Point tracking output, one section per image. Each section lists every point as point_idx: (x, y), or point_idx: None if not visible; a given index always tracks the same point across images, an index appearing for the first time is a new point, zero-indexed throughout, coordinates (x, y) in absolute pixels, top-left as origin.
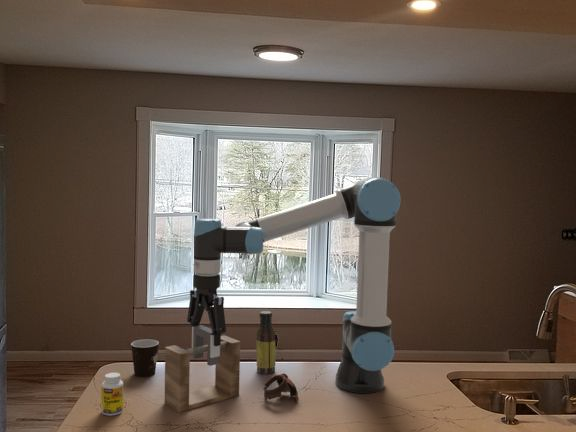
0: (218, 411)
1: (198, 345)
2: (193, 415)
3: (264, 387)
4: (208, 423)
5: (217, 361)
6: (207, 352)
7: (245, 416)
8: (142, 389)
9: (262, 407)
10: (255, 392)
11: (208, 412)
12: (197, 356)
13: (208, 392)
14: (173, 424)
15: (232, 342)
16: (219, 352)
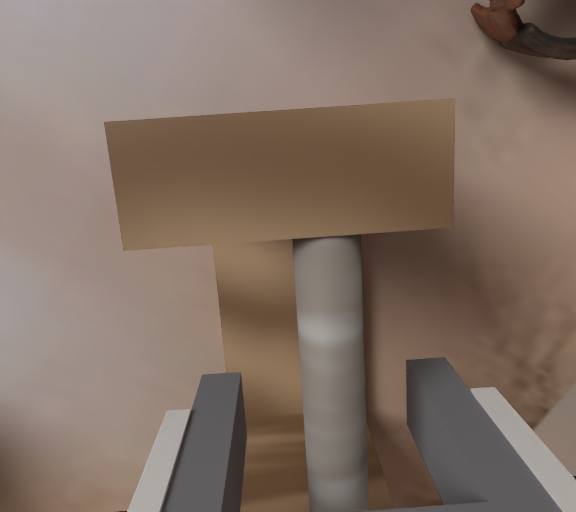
0: (452, 306)
1: (237, 485)
2: None
3: (538, 39)
4: (522, 394)
5: (452, 370)
6: (438, 488)
7: (572, 236)
8: (38, 466)
9: (549, 108)
10: (371, 17)
11: (434, 345)
12: (245, 430)
13: (279, 267)
14: None
15: (431, 204)
16: (508, 407)
